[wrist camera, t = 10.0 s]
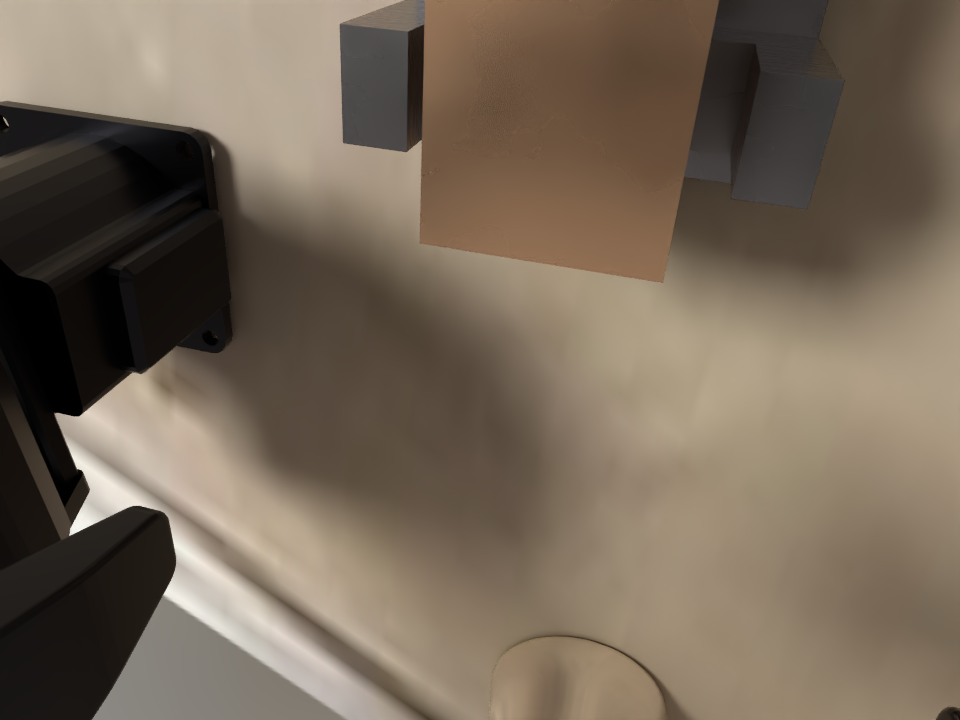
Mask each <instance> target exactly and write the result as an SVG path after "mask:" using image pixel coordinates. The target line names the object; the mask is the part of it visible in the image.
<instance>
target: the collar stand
mask: <svg viewBox="0 0 960 720" xmlns="http://www.w3.org/2000/svg"><path fill="white" fill-rule="evenodd" d="M827 3H828V0H719V3H718V8H717V13H716V18H715V23H714V28H713V33H712V38H711V43H710V48H709V53H708V58H707V63H706V68H705V73H704V79H703V84H702V89H701V94H700V99H699V104H698V109H697V114H696V119H695V124H694V129H693V134H692V139H691V144H690V149H689V154H688V159H687V164H686V169H685V174H684V177H688V178H695V179H702V180H709V181H716V182H723V183H731V199H738V200H745V201H752V202H759V203H766V204H773V205H780V206H787V207H794V208H801V209H808V206H809V202H810V199H811V195H812V192H813V188H814V185H815V181H816V178H817V175H818V171H819V168H820V164H821V161H822V157H823V154H824V150H825V147H826V144H827V140H828V137H829V133H830V130H831V126H832V123H833V119H834V116H835V113H836V109H837V106H838V102H839V99H840V95H841V92H842V89H843V85H844V82H845V81H844V79H843V78H842V76H841V74H840V73H839V71H838V69H837V68H836V66H835V64H834V63H833V61H832V60H831V58H830V56H829V55H828V53H827V51H826V50H825V48H824V46H823V45H822V43H821V41H820V40H819V38H818V37H819V33H820V30H821V26H822V22H823V18H824V15H825V11H826V7H827ZM424 24H425V0H404V1H401V2H399V3H396V4H393V5H390V6H387V7H385V8H382V9H379V10H376V11H374V12H371V13H368V14H365V15H363V16H360V17H357V18H354V19H352V20H349V21H346V22H343V23H341V24H340V50H341V84H342V119H343V143H346V144H353V145H360V146H367V147H374V148H381V149H388V150H395V151H402V152H407V151H409V150H410V149H411V148H412V147H413V146H414V145H416V144H417V143H418V142H419V141H420V140H422V119H423V71H424Z"/></svg>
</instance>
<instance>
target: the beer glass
mask: <svg viewBox="0 0 960 720" xmlns="http://www.w3.org/2000/svg"><path fill="white" fill-rule="evenodd" d="M489 720H666V707H665V702H664V698H663V695H662V693H661V691H660V689H659V687H658V686H657V684H656V683H655V681H654V680H653V679H652V677H651V676H650V675H649V674H648V673H647V672H646V671H645V670H644V669H643V668H642V667H641V666H639V665H638V664H637V663H636V662H634V661H633V660H632V659H630V658H629V657H627V656H625V655H624V654H622V653H620V652H618V651H616V650H614V649H612V648H610V647H608V646H605V645H602V644H600V643H597V642H593V641H590V640H586V639H581V638H575V637H567V636H548V637H540V638H535V639H531V640H528V641H525V642H522V643H520V644H518V645H516V646H514V647H512V648H511V649H509V650H508V651H507V652H506V653H504V654H503V655H502V657H501V658H500V659H499V661H498V662H497V664H496V666H495V668H494V670H493V674H492V680H491V690H490V708H489Z"/></svg>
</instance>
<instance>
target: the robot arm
mask: <svg viewBox="0 0 960 720" xmlns="http://www.w3.org/2000/svg"><path fill="white" fill-rule="evenodd" d="M3 117H4V118H5V119H6V120H7V122H8V124H9V127H8V126H7V125H6V123H5V121H4V119H3ZM185 142H186V143H189V145H190V146H191V147H192V148H193V151H194V156H191V155H190V154H189V153H188V152H187V151H186V148H185ZM230 300H231V291H230V282H229V274H228V265H227V256H226V247H225V239H224V230H223V221H222V218H221V217H220V215H219V213H218V204H217V196H216V187H215V179H214V170H213V162H212V153H211V148H210V144H209V142H208V140H207V139H206V137H205V136H204V135H203V134H202V133H201V132H200V131H198V130H196V129H193V128H189V127H182V126H176V125H169V124H162V123H155V122H148V121H141V120H134V119H127V118H120V117H113V116H106V115H99V114H93V113H86V112H79V111H72V110H65V109H58V108H51V107H44V106H37V105H30V104H23V103H17V102H10V101H3V102H0V720H92V719H93V717H94V716H95V714H96V713H97V711H98V710H99V708H100V706H101V705H102V703H103V702H104V700H105V699H106V697H107V696H108V694H109V693H110V691H111V690H112V688H113V686H114V684H115V683H116V681H117V679H118V678H119V676H120V674H121V672H122V670H123V669H124V667H125V665H126V663H127V661H128V659H129V658H130V656H131V654H132V652H133V650H134V648H135V646H136V644H137V643H138V641H139V639H140V637H141V635H142V633H143V631H144V630H145V627H146V626H147V624H148V622H149V620H150V618H151V617H152V615H153V613H154V611H155V609H156V607H157V605H158V603H159V602H160V600H161V598H162V596H163V594H164V592H165V590H166V589H167V587H168V585H169V583H170V581H171V579H172V577H173V574H174V571H175V567H176V555H175V549H174V544H173V539H172V534H171V528H170V523H169V519H168V517H167V516H166V515H165V513H163V512H161V511H158V510H154V509H150V508H146V507H142V506H132V507H129V508H127V509H124V510H122V511H120V512H118V513H116V514H114V515H112V516H110V517H108V518H106V519H104V520H102V521H100V522H98V523H96V524H93V525H91V526H89V527H87V528H85V529H83V530H81V531H79V532H77V533H75V534H73V535H71V536H69V533H70V528H71V526H72V524H73V522H74V520H75V518H76V516H77V514H78V513H79V511H80V509H81V507H82V505H83V503H84V501H85V499H86V497H87V495H88V493H89V491H90V488H89V486H88V483H87V481H86V478H85V476H84V473H83V472H82V470H79V469H77V468H76V466H75V463H74V461H73V458H72V456H71V453H70V451H69V448H68V446H67V443H66V441H65V438H64V436H63V434H62V431H61V429H60V426H59V424H58V421H57V419H56V416H55V413H61V414H66V415H70V416H80V415H81V414H83V413H84V412H85V411H86V410H87V409H89V408H90V407H91V406H92V405H94V404H95V403H96V402H97V401H98V400H100V399H101V398H102V397H103V396H104V395H106V394H107V393H108V392H109V391H110V390H112V389H113V388H114V387H115V386H117V385H118V384H119V383H120V382H121V381H123V380H124V379H125V378H126V377H127V376H129V375H130V374H131V373H132V372H133V373H138V374H142V373H145V372H146V371H147V370H149V369H150V368H151V367H152V366H153V365H154V364H156V363H157V362H158V361H159V360H160V359H162V358H163V357H164V356H165V355H166V354H168V353H169V352H170V351H171V350H172V349H173V348H175V347H176V346H181V347H186V348H190V349H195V350H200V351H205V352H210V353H219V352H221V351H223V350H224V349H225V348H226V347H227V346H228V345H229V344H230V343H231V341H232V337H233V333H232V324H231V316H230V307H229V301H230ZM210 331H212V332H213V333H214V334H215V335H216V336H217V338H218V339H216V338H214V337H213V336H212V335H211V333H210ZM936 720H960V708H956V707H947V708H945V709H943V710H942V711H941V712H940V714H939V715H938V717H937V719H936Z"/></svg>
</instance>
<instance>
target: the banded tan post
mask: <svg viewBox="0 0 960 720" xmlns="http://www.w3.org/2000/svg"><path fill="white" fill-rule="evenodd" d="M718 3H719V0H425V24H424V71H423V119H422V166H421V213H420V243H421V244H427V245H433V246H439V247H446V248H452V249H458V250H464V251H470V252H476V253H482V254H489V255H495V256H501V257H507V258H513V259H519V260H525V261H532V262H538V263H544V264H550V265H556V266H562V267H569V268H575V269H581V270H587V271H593V272H599V273H605V274H612V275H618V276H624V277H630V278H636V279H642V280H648V281H655V282H661V283H663V280H664V275H665V270H666V265H667V260H668V255H669V250H670V245H671V240H672V235H673V230H674V225H675V220H676V215H677V210H678V205H679V199H680V194H681V189H682V184H683V179H684V174H685V169H686V164H687V159H688V154H689V149H690V144H691V139H692V134H693V129H694V124H695V119H696V114H697V109H698V104H699V99H700V94H701V89H702V84H703V79H704V73H705V68H706V63H707V58H708V53H709V48H710V43H711V38H712V33H713V28H714V23H715V18H716V13H717V8H718Z"/></svg>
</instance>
